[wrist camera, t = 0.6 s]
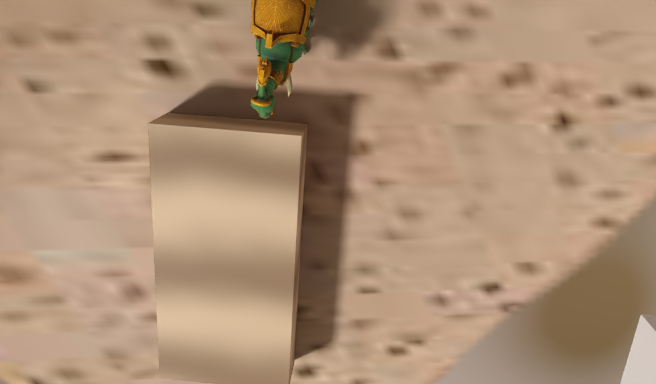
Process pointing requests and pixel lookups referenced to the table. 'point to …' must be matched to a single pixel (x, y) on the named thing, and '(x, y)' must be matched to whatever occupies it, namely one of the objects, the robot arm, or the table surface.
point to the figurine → (278, 45)
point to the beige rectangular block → (226, 246)
